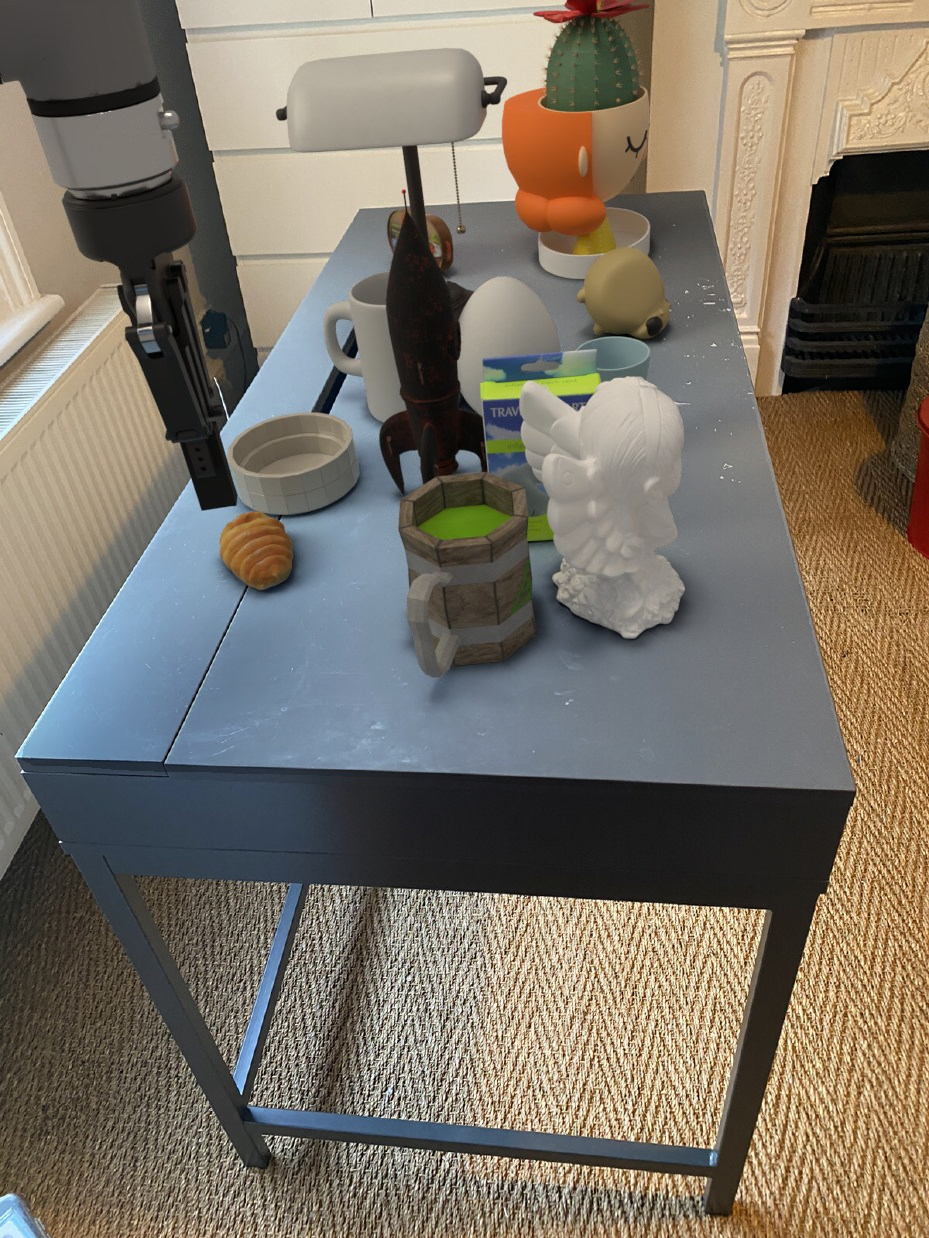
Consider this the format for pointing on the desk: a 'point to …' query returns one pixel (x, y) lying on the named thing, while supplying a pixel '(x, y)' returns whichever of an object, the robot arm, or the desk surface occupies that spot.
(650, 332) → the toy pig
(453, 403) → the toy rocket
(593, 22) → the potted cactus
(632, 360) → the cup
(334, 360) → the mug
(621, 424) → the cherub figurine
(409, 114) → the lamp
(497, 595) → the mug
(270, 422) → the bowl
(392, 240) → the tin
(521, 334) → the decorative egg
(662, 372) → the desk surface
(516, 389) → the box
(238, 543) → the pastry
